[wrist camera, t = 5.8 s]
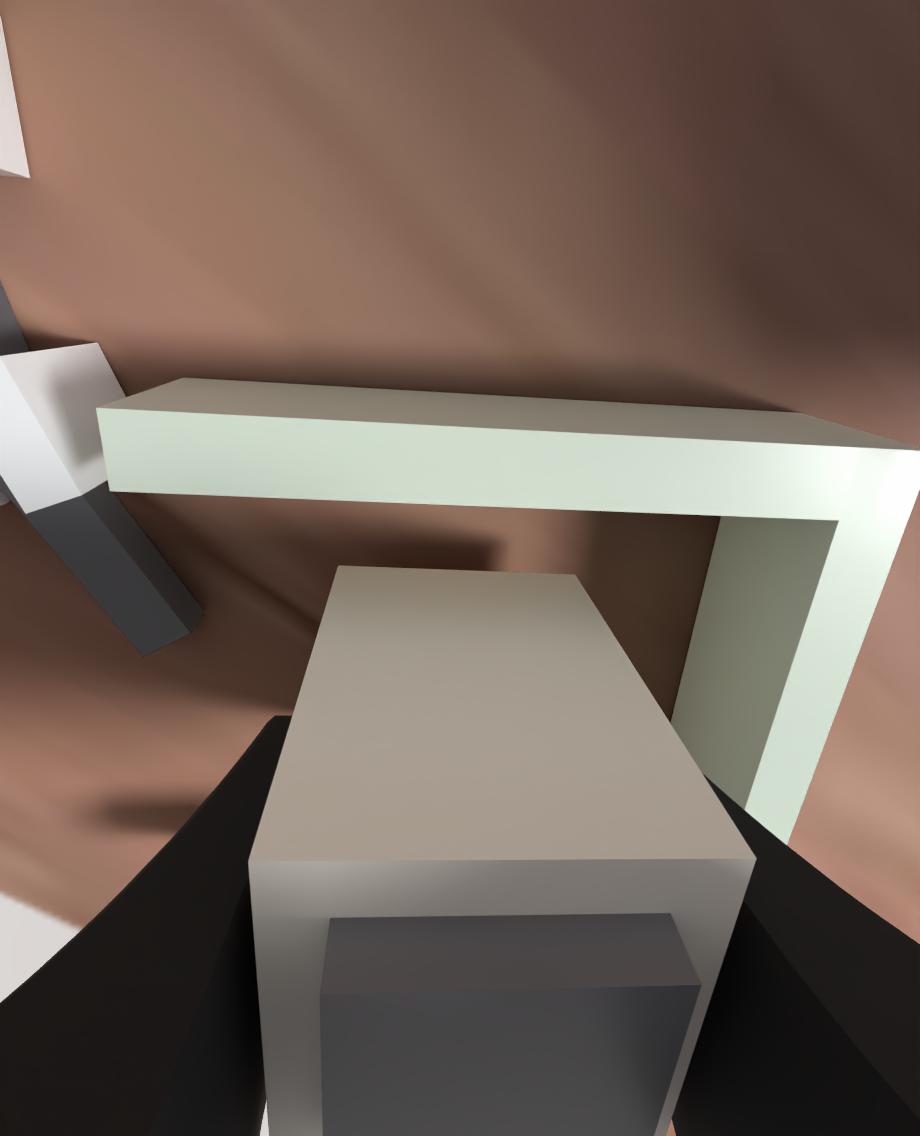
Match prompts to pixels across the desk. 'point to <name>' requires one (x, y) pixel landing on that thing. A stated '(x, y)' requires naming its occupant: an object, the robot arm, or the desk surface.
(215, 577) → the desk surface
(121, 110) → the desk surface
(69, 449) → the clips
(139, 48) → the desk surface
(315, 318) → the desk surface
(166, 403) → the holder
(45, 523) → the cable
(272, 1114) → the block
